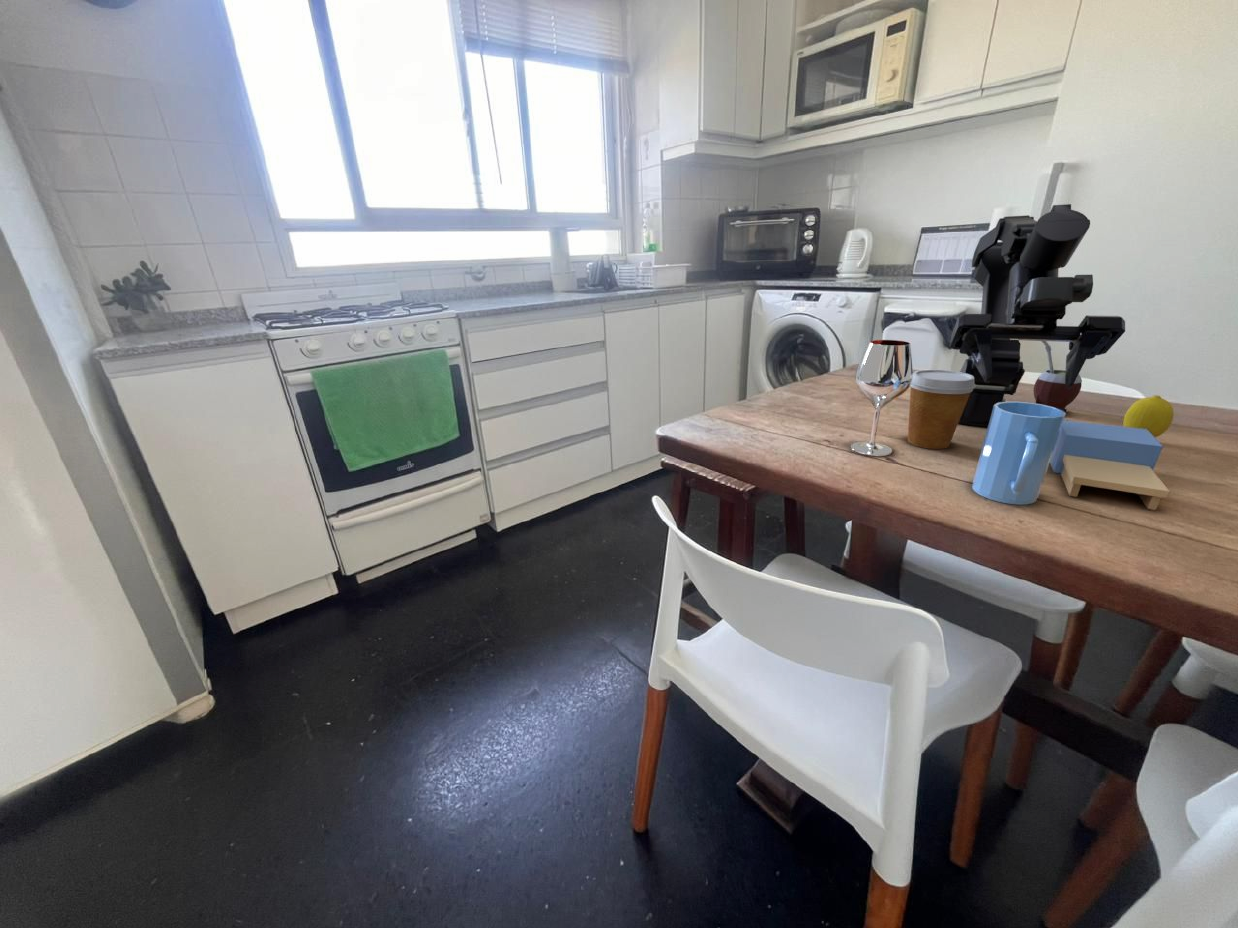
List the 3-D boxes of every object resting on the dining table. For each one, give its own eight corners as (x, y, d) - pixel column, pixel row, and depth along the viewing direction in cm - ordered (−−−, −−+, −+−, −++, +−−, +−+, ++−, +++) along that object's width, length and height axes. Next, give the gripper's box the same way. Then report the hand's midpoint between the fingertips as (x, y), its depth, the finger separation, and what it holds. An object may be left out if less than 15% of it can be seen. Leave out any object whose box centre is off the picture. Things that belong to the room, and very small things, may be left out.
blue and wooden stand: (1061, 495, 67) (1076, 454, 64) (1047, 454, 80) (1058, 419, 77) (1165, 513, 61) (1185, 469, 59) (1131, 466, 74) (1147, 429, 72)
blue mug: (969, 478, 72) (990, 399, 68) (1030, 487, 69) (1057, 404, 65) (977, 507, 64) (1002, 420, 60) (1047, 519, 61) (1079, 427, 56)
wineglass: (895, 461, 79) (917, 348, 72) (840, 453, 83) (857, 345, 76) (899, 445, 85) (920, 340, 78) (848, 438, 89) (864, 337, 82)
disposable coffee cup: (955, 437, 88) (972, 370, 84) (964, 455, 80) (983, 383, 76) (895, 431, 92) (908, 367, 87) (898, 448, 84) (912, 379, 79)
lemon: (1171, 447, 81) (1191, 400, 77) (1131, 446, 82) (1150, 399, 79) (1145, 436, 86) (1163, 391, 82) (1108, 435, 87) (1125, 390, 84)
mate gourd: (1081, 416, 96) (1108, 338, 91) (1040, 417, 97) (1064, 339, 91) (1051, 405, 103) (1074, 332, 98) (1013, 406, 104) (1034, 334, 98)
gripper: (972, 255, 70) (963, 347, 66) (1148, 250, 63) (1151, 354, 58) (953, 306, 80) (944, 389, 75) (1103, 307, 72) (1103, 400, 68)
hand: (1027, 383), depth 69 cm, fingers open, 9 cm apart
